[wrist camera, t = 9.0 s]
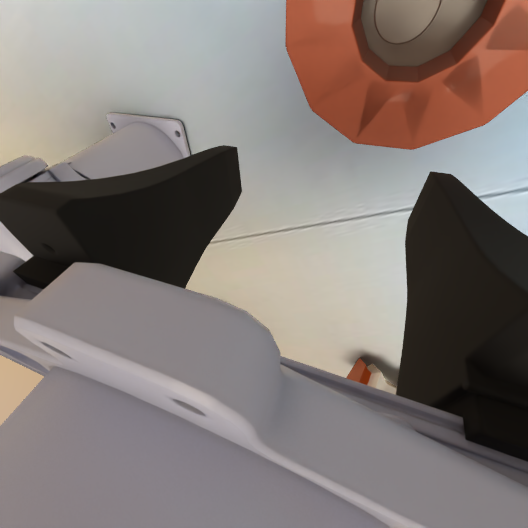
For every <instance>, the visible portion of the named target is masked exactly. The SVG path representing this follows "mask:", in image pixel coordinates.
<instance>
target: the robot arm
mask: <svg viewBox="0 0 528 528" xmlns="http://www.w3.org/2000/svg"><path fill="white" fill-rule="evenodd" d="M106 118H107V121H108V123H109V126H110V128H111V130H112V132H113V134H111V135H109V136H108V137H106V138H104V139H102V140H100V141H99V142H97V143H95V144H93V145H91V146H89V147H88V148H86V149H84V150H82V151H80V152H79V153H77V154H75V155H73V156H71V157H69V158H68V159H66V160H64V161H62V162H60V163H59V164H56V165H54V166H51V167H48V168H46V167H47V166H48V165H47V164H46V163H45V162H44V161H43V160H42V159H41V158H36V159H35V158H34V157H31V156H27V155H24V156H21V157H19V158H17V159H15V160H13V161H11V162H9V163H7V164H5V165H3V166H1V167H0V355H2V356H4V357H6V358H8V359H10V360H12V361H14V362H16V363H19V364H20V365H22V366H24V367H26V368H29V369H31V370H33V371H35V372H37V373H39V374H41V375H43V376H45V377H44V378H43V379H42V380H41V381H40V383H39V384H38V385H37V386H36V387H35V388H34V389H33V390H32V391H31V392H30V394H29V395H28V396H27V397H26V398H25V399H24V400H23V401H22V403H21V404H20V405H19V406H18V407H17V408H16V409H15V410H14V412H13V413H12V414H11V415H10V416H9V417H8V418H7V419H6V421H4V423H3V424H2V425H1V426H0V528H528V236H526V235H525V234H523V233H522V232H520V231H519V230H517V229H516V228H514V227H513V226H512V225H510V224H509V223H508V222H506V221H505V220H504V219H503V218H501V217H500V216H499V215H497V214H496V213H495V212H494V211H493V210H491V209H490V208H489V207H488V206H487V205H486V204H484V203H483V202H482V201H481V200H480V199H479V198H478V197H477V196H475V195H474V194H473V193H472V192H471V191H470V190H469V189H468V188H467V187H466V186H465V185H464V184H462V183H461V182H460V181H459V180H458V179H457V178H456V177H454V176H453V175H451V174H445V173H437V172H430V174H429V176H428V178H427V180H426V182H425V184H424V187H423V189H422V191H421V193H420V195H419V197H418V200H417V202H416V204H415V206H414V208H413V211H412V213H411V215H410V217H409V219H408V225H407V232H406V241H405V248H406V271H407V310H406V321H405V331H404V340H403V349H402V356H401V363H400V371H399V378H398V384H397V390H396V395H395V394H392V393H389V392H386V391H383V390H380V389H377V388H374V387H371V386H368V385H365V384H362V383H359V382H356V381H353V380H350V379H347V378H344V377H341V376H338V375H335V374H332V373H329V372H326V371H323V370H320V369H317V368H314V367H311V366H308V365H306V364H303V363H300V362H297V361H294V360H291V359H288V358H285V357H282V356H280V351H279V349H278V347H277V345H276V343H275V341H274V339H273V336H272V335H271V333H270V331H269V329H268V328H266V327H265V326H264V325H263V324H261V323H260V322H259V321H258V320H256V319H255V318H254V317H253V316H252V315H250V314H249V313H248V312H247V311H244V310H242V309H240V308H238V307H235V306H233V305H231V304H229V303H227V302H224V301H222V300H220V299H218V298H214V297H211V296H208V295H204V294H201V293H197V292H194V291H191V290H187V289H185V287H186V285H187V283H188V281H189V279H190V277H191V275H192V273H193V271H194V269H195V267H196V265H197V263H198V261H199V260H200V258H201V256H202V254H203V252H204V250H205V249H206V247H207V246H208V244H209V243H210V241H211V240H212V238H213V237H214V236H215V234H216V233H217V231H218V230H219V229H220V227H221V226H222V224H223V223H224V222H225V220H226V219H227V217H228V216H229V215H230V213H231V212H232V210H233V209H234V207H235V205H236V203H237V201H238V199H239V196H240V194H241V192H242V188H241V179H240V170H239V161H238V152H237V147H232V146H224V145H223V146H218V147H214V148H211V149H208V150H205V151H202V152H199V153H197V154H194V155H191V156H190V152H189V148H188V144H187V140H186V136H185V132H184V128H183V125H182V123H181V122H180V121H179V120H174V119H165V118H157V117H148V116H139V115H130V114H121V113H112V112H110V113H107V114H106ZM114 124H115V125H114ZM177 131H178V132H179V133H180V135H179V134H178V132H177ZM45 168H46V169H45Z"/></svg>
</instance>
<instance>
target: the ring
mask: <svg viewBox="0 0 528 528" xmlns="http://www.w3.org/2000/svg"><path fill="white" fill-rule="evenodd" d="M363 1H364V0H286V47H287V48H286V49H287V52H288V54H289V57H290V59H291V62H292V64H293V67H294V69H295V72H296V74H297V76H298V79H299V81H300V84H301V86H302V89H303V91H304V94H305V96H306V99H307V101H308V103H309V106H310V108H311V109H312V111H313V112H315V113H316V114H317V115H318V116H320V117H321V118H322V119H324V120H325V121H326V122H327V123H329V124H330V125H331V126H333V127H334V128H335V129H336V130H338V131H339V132H340V133H342V134H343V135H344V136H345V137H347V138H348V139H349V140H351V141H352V142H353V143H354V142H355V143H357V144H366V145H375V146H383V147H392V148H401V149H410V150H411V149H416V148H419V147H422V146H425V145H428V144H431V143H434V142H437V141H439V140H442V139H445V138H448V137H451V136H454V135H457V134H460V133H463V132H465V131H468V130H471V129H474V128H477V127H480V126H483V125H485V124H486V123H488V122H489V121H491V120H492V119H493V118H494V117H496V116H497V115H498V114H499V113H501V112H502V111H503V110H504V109H506V108H507V107H508V106H509V105H510V104H512V103H513V102H514V101H515V100H517V99H518V98H519V97H520V96H522V95H523V94H524V93H525V92H527V91H528V0H487V3H486V5H485V7H484V10H483V12H482V15H481V17H480V18H479V19H478V20H477V21H476V22H475V23H474V24H473V26H472V27H471V28H470V29H469V30H468V31H467V32H466V33H465V34H464V36H463V37H462V38H461V39H460V40H459V41H458V42H457V43H456V44H455V46H454V47H453V48H452V49H451V50H450V51H448V52H446V53H444V54H442V55H440V56H438V57H436V58H434V59H432V60H430V61H428V62H426V63H424V64H422V65H420V66H418V67H407V66H389V65H387V64H386V63H385V62H384V61H383V60H382V59H380V58H379V57H378V56H377V55H376V54H375V53H373V52H372V51H371V50H370V49H369V47H368V44H367V40H366V36H365V32H364V28H363V25H362V21H361V12H362V7H363Z"/></svg>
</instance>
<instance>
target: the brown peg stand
mask: <svg viewBox="0 0 528 528" xmlns="http://www.w3.org/2000/svg"><path fill="white" fill-rule="evenodd" d="M486 3H487V0H364V1H363V7H362V12H361V21H362V25H363V28H364V32H365V36H366V40H367V44H368V47H369V49H370V50H371V51H372V52H373V53H375V54H376V55H377V56H378V57H379V58H380V59H382V60H383V61H384V62H385V63H386V64H387V65H389V66H407V67H418V66H420V65H422V64H424V63H426V62H428V61H430V60H432V59H434V58H436V57H438V56H440V55H442V54H444V53H446V52H448V51H450V50H451V49H452V48H453V47H454V46H455V44H456V43H457V42H458V41H459V40H460V39H461V38H462V37H463V36H464V34H465V33H466V32H467V31H468V30H469V29H470V28H471V27H472V26H473V24H474V23H475V22H476V21H477V20H478V19H479V18H480V17H481V15H482V12H483V10H484V7H485V5H486Z"/></svg>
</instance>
